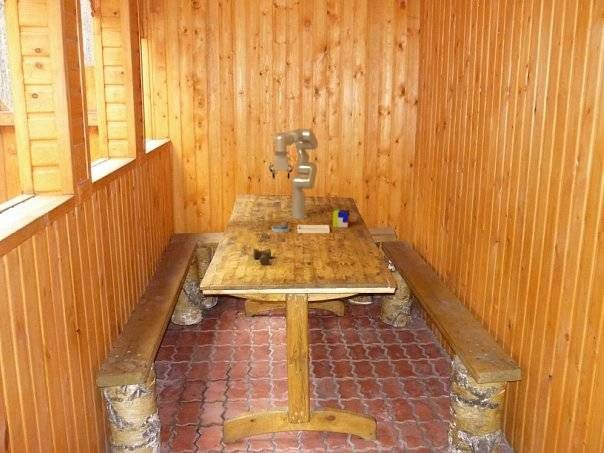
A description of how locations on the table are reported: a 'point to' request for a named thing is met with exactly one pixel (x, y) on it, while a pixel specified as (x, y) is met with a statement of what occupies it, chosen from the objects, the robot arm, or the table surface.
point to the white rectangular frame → (313, 229)
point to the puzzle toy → (341, 218)
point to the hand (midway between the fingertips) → (281, 178)
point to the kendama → (263, 256)
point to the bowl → (279, 230)
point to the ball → (283, 225)
